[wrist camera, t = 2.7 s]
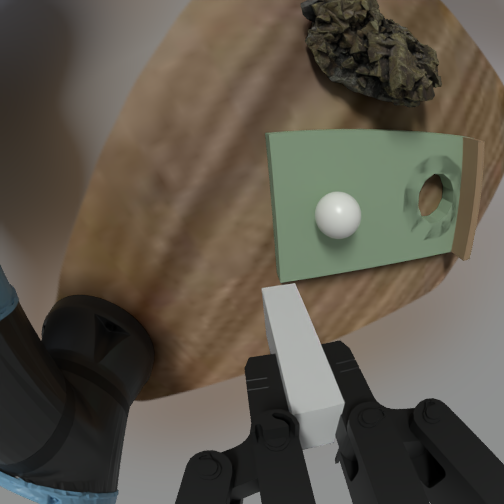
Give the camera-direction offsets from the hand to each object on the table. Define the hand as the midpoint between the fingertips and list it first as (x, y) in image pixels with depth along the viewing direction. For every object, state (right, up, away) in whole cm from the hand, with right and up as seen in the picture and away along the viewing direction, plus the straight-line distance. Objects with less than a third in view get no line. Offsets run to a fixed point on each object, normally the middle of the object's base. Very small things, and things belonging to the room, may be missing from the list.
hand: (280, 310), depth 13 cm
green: (+12, +8, +14) cm, 21 cm away
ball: (+6, +6, +10) cm, 13 cm away
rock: (+9, +22, +8) cm, 25 cm away
